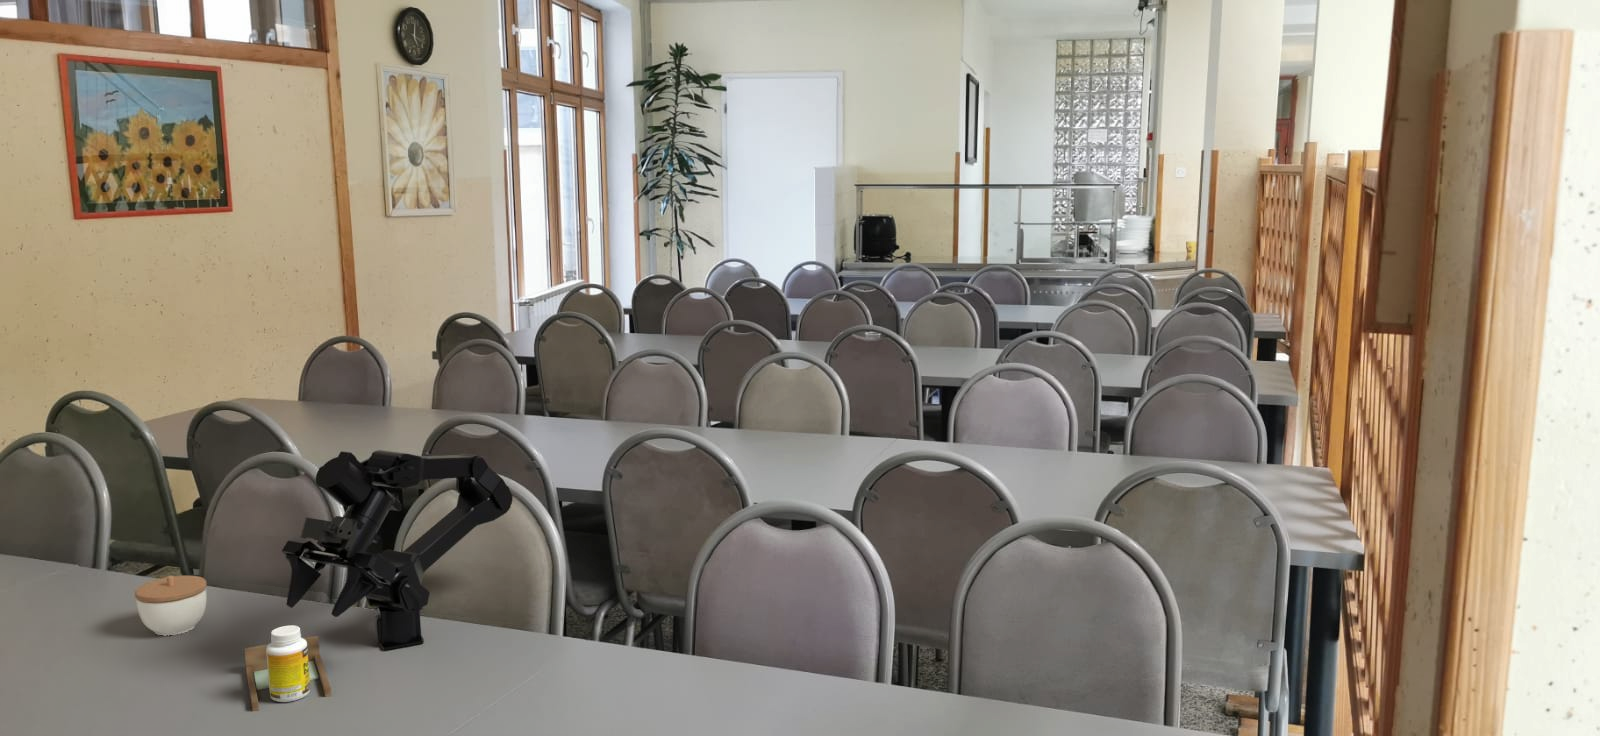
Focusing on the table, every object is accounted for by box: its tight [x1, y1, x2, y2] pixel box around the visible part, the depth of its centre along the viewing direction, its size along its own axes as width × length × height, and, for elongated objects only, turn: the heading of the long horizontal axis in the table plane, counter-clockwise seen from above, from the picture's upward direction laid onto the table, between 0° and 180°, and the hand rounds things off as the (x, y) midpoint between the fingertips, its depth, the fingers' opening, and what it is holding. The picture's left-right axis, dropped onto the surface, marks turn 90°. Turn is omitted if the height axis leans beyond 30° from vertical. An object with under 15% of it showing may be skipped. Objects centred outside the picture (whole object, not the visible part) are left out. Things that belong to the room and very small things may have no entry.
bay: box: [244, 635, 332, 712], centre depth 177 cm, size 11×15×4 cm
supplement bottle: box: [266, 624, 311, 703], centre depth 172 cm, size 6×6×10 cm
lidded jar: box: [134, 575, 208, 637], centre depth 198 cm, size 11×11×9 cm
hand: (311, 611), depth 176 cm, fingers open, 9 cm apart
